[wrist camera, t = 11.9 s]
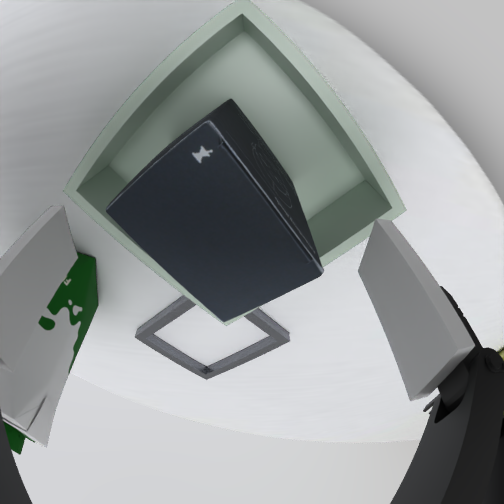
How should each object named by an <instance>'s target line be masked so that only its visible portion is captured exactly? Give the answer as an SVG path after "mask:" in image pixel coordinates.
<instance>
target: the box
mask: <svg viewBox="0 0 504 504" xmlns="http://www.w3.org/2000/svg"><path fill="white" fill-rule="evenodd" d="M106 213H107V214H108V215H109V216H110V217H111V218H112V219H113V220H114V221H115V222H116V223H117V224H118V225H119V226H120V227H121V228H122V229H123V230H124V231H125V232H126V233H127V234H128V235H129V236H130V237H131V238H132V239H133V240H134V241H135V242H136V243H137V244H138V245H139V246H140V247H141V248H142V249H143V250H144V251H145V252H146V253H147V254H148V255H149V256H150V257H151V258H152V259H154V260H155V261H156V262H157V263H158V264H159V265H160V266H161V267H162V268H163V269H164V270H165V271H166V272H167V273H168V274H169V275H170V276H172V277H173V278H174V279H175V280H176V281H177V282H178V283H179V284H180V285H181V286H183V287H184V288H185V289H186V290H187V291H188V292H189V293H190V294H191V295H192V296H193V297H195V298H196V299H197V300H198V301H199V302H200V303H202V304H203V305H204V306H205V307H206V308H207V309H208V310H210V311H211V312H212V313H213V314H214V315H215V316H216V317H217V318H219V319H220V320H221V321H222V322H226V321H229V320H231V319H233V318H235V317H238V316H240V315H242V314H244V313H246V312H248V311H251V310H253V309H255V308H257V307H259V306H261V305H263V304H265V303H268V302H270V301H271V300H274V299H276V298H278V297H280V296H282V295H284V294H286V293H288V292H290V291H292V290H294V289H296V288H298V287H300V286H302V285H304V284H306V283H308V282H310V281H312V280H314V279H316V278H318V277H320V276H321V275H322V274H323V272H324V269H323V267H322V264H321V261H320V258H319V255H318V252H317V249H316V246H315V243H314V240H313V238H312V235H311V231H310V229H309V226H308V223H307V220H306V218H305V215H304V212H303V210H302V206H301V204H300V201H299V198H298V195H297V193H296V190H295V187H294V184H293V182H292V180H291V179H290V177H289V176H288V174H287V173H286V171H285V170H284V168H283V167H282V165H281V164H280V162H279V161H278V159H277V158H276V156H275V155H274V154H273V152H272V151H271V150H270V148H269V147H268V145H267V144H266V143H265V141H264V140H263V138H262V137H261V136H260V134H259V133H258V131H257V130H256V129H255V127H254V126H253V125H252V124H251V122H250V121H249V120H248V118H247V117H246V116H245V114H244V113H243V112H242V110H241V109H240V108H239V107H238V105H237V104H236V103H235V101H234V100H233V99H229V100H227V101H226V102H224V103H223V104H222V105H220V106H219V107H217V108H216V109H214V110H213V111H212V112H210V113H209V114H208V115H206V116H205V117H204V118H202V119H201V120H199V121H198V122H197V123H195V124H194V125H193V126H192V127H190V128H189V129H188V130H186V131H185V132H184V133H183V134H181V135H180V136H179V137H178V138H176V139H175V140H174V141H173V142H171V143H170V144H169V145H168V146H167V147H165V148H164V149H163V150H162V151H161V152H160V153H159V154H158V155H157V156H155V158H153V159H152V160H151V161H150V162H149V163H148V164H147V165H146V166H145V167H144V168H143V169H142V170H141V171H140V172H139V173H138V174H137V175H136V176H135V177H134V178H133V179H132V180H131V181H130V182H129V183H128V184H127V185H126V186H125V187H124V188H123V189H122V191H121V192H120V193H119V194H118V195H117V196H116V197H115V198H114V199H113V200H112V201H111V202H110V203H109V205H108V206H107V207H106Z"/></svg>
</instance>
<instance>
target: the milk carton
mask: <svg viewBox="0 0 504 504" xmlns="http://www.w3.org/2000/svg"><path fill="white" fill-rule="evenodd" d="M77 256H78V259H77V260H76V261H75V263H74V264H73V266H72V267H71V269H70V270H69V272H68V273H67V275H66V276H65V278H64V280H63V281H62V283H61V284H60V286H59V287H58V289H57V291H56V292H55V294H54V296H53V297H52V299H51V301H50V302H49V304H48V306H47V307H46V309H45V311H44V313H43V314H42V316H41V318H40V320H39V322H38V323H37V325H36V327H35V329H34V331H33V333H32V335H31V337H30V339H29V340H28V342H27V344H26V346H25V349H24V351H23V353H22V355H21V357H20V359H19V361H18V363H17V366H16V368H15V370H14V372H13V373H12V372H10V371H8V370H6V369H3V368H1V367H0V409H1V414H2V418H3V422H4V426H5V430H6V434H7V438H8V441H9V445H10V448H11V450H13V451H15V452H16V453H18V454H21V451H22V448H23V444H24V440H25V438H28V439H29V440H31V441H33V442H37V443H39V444H40V445H42V446H44V447H47V444H48V439H49V434H50V430H51V426H52V422H53V418H54V415H55V411H56V407H57V405H58V402H59V399H60V396H61V394H62V391H63V388H64V385H65V383H66V380H67V378H68V375H69V373H70V370H71V368H72V365H73V363H74V361H75V358H76V356H77V353H78V351H79V349H80V347H81V344H82V342H83V340H84V337H85V335H86V333H87V331H88V329H89V326H90V324H91V321H92V319H93V316H94V314H95V312H96V309H97V307H98V297H97V283H96V259H95V258H93V257H90V256H87V255H84V254H81V253H78V252H77Z"/></svg>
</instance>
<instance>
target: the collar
mask: <svg viewBox="0 0 504 504" xmlns="http://www.w3.org/2000/svg"><path fill="white" fill-rule="evenodd" d="M195 305H196V304H195V303H194V302H192V301H191V300H190V299H188V298H187V297H186V296H185V295H184V296H182V297H181V298H179V299H178V300H177V301H175V302H174V303H173V304H171V305H170V306H168V307H167V308H166V309H164V310H163V311H162V312H160V313H159V314H158V315H156V316H155V317H153V318H152V319H151V320H149V321H148V322H147V323H145V324H144V325H143V326H141V327H140V328H138V329H137V331H136V334H135V338H137V339H138V340H140V341H141V342H143V343H144V344H146V345H148V346H149V347H151V348H152V349H154V350H155V351H157V352H159V353H160V354H162V355H164V356H165V357H167V358H169V359H170V360H172V361H174V362H175V363H177V364H179V365H181V366H182V367H184V368H186V369H188V370H190V371H191V372H193V373H195V374H197V375H199V376H200V377H202V378H204V379H206V380H207V379H209V378H212V377H214V376H216V375H219V374H221V373H223V372H226V371H228V370H230V369H233V368H235V367H237V366H239V365H241V364H244V363H246V362H248V361H250V360H252V359H255V358H257V357H259V356H261V355H263V354H265V353H267V352H269V351H271V350H273V349H275V348H277V347H279V346H281V345H283V344H285V343H287V342H289V341H290V337H289V332H287V331H286V330H285V329H283V328H282V327H281V326H280V325H278V324H277V323H276V322H275V321H273V320H272V319H271V318H270V317H268V316H267V315H266V314H265V313H263V312H262V311H261V310H260V309H258V308H256V309H255V310H253V311H251V312H250V313H248V314H246V315H245V316H244V317H245V318H247V319H248V320H249V321H251V322H252V323H253V324H255V325H256V326H257V327H259V328H260V329H261V330H263V331H264V332H266V333H267V334H268V335H270V336H269V337H267V338H265V339H263V340H261V341H259V342H257V343H255V344H254V345H252V346H250V347H248V348H246V349H244V350H241V351H239V352H237V353H235V354H233V355H231V356H229V357H227V358H225V359H223V360H221V361H219V362H216V363H214V364H212V365H210V366H208V367H206V366H204V365H202V364H200V363H199V362H197V361H195V360H194V359H192V358H190V357H189V356H187V355H185V354H184V353H182V352H180V351H179V350H177V349H175V348H174V347H172V346H171V345H169V344H167V343H166V342H164V341H163V340H161V339H160V338H158V337H157V336H155V335H154V334H153V333H155V332H156V331H158V330H159V329H161V328H162V327H164V326H165V325H167V324H168V323H170V322H171V321H173V320H174V319H176V318H177V317H179V316H180V315H182V314H183V313H185V312H186V311H188V310H189V309H191V308H192V307H194V306H195Z"/></svg>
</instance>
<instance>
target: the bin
mask: <svg viewBox="0 0 504 504" xmlns="http://www.w3.org/2000/svg"><path fill="white" fill-rule="evenodd" d="M229 99H233V100H234V101H235V103H236V104H237V105H238V107H239V108H240V109H241V110H242V112H243V113H244V114H245V116H246V117H247V118H248V120H249V121H250V122H251V124H252V125H253V126H254V127H255V129H256V130H257V131H258V133H259V134H260V136H261V137H262V138H263V140H264V141H265V143H266V144H267V145H268V147H269V148H270V150H271V151H272V152H273V154H274V155H275V156H276V158H277V159H278V161H279V162H280V164H281V165H282V167H283V168H284V170H285V171H286V173H287V174H288V176H289V177H290V179H291V180H292V182H293V184H294V187H295V190H296V193H297V195H298V198H299V201H300V204H301V206H302V210H303V212H304V215H305V218H306V220H307V223H308V226H309V229H310V231H311V235H312V238H313V240H314V243H315V246H316V249H317V252H318V255H319V258H320V261H321V264H322V267H324V266H326V265H327V264H329V263H330V262H332V261H333V260H335V259H337V258H338V257H340V256H341V255H343V254H344V253H346V252H347V251H349V250H350V249H352V248H353V247H355V246H356V245H358V244H359V243H361V242H362V241H363V240H365V239H366V238H368V237H369V236H370V234H371V231H372V228H373V225H374V222H375V219H384V220H391V221H392V220H394V219H395V218H397V217H398V216H399V215H401V214H402V213H404V212H405V211H406V208H405V206H404V204H403V202H402V200H401V198H400V196H399V194H398V192H397V190H396V188H395V186H394V184H393V183H392V181H391V179H390V177H389V175H388V174H387V172H386V170H385V168H384V167H383V165H382V163H381V161H380V160H379V158H378V156H377V155H376V153H375V151H374V150H373V148H372V146H371V145H370V143H369V142H368V140H367V138H366V137H365V135H364V134H363V132H362V131H361V129H360V128H359V126H358V125H357V123H356V122H355V120H354V119H353V117H352V116H351V114H350V113H349V112H348V110H347V109H346V107H345V106H344V105H343V103H342V102H341V100H340V99H339V98H338V96H337V95H336V94H335V92H334V91H333V90H332V88H331V87H330V86H329V85H328V83H327V82H326V81H325V79H324V78H323V77H322V76H321V74H320V73H319V72H318V71H317V70H316V68H315V67H314V66H313V65H312V64H311V62H310V61H309V60H308V59H307V58H306V57H305V55H304V54H303V53H302V52H301V51H300V50H299V49H298V48H297V46H296V45H295V44H294V43H293V42H292V41H291V40H290V39H289V38H288V37H287V36H286V35H285V34H284V33H283V32H282V31H281V29H280V28H279V27H278V26H277V25H276V24H275V23H274V22H273V21H272V20H270V19H269V18H268V17H267V16H266V15H265V14H264V13H263V12H262V11H261V10H260V9H259V8H258V7H257V6H256V5H255V4H253V3H252V2H251V1H250V0H236V1H235V2H233V3H232V4H230V5H229V6H227V7H226V8H225V9H223V10H222V11H221V12H219V13H218V14H217V15H215V16H214V17H213V18H211V19H210V20H209V21H208V22H206V23H205V24H204V25H203V26H201V27H200V28H199V29H198V30H197V31H195V32H194V33H193V34H192V35H191V36H190V37H188V38H187V39H186V40H185V41H184V42H183V43H182V44H181V45H179V46H178V47H177V48H176V49H175V50H174V51H173V52H172V53H171V54H170V55H169V56H168V57H167V58H166V59H165V60H164V61H163V62H162V63H161V64H160V65H159V66H158V67H157V68H156V69H155V70H154V71H153V72H152V73H151V74H150V75H149V76H148V77H147V78H146V79H145V80H144V81H143V82H142V83H141V84H140V86H139V87H138V88H137V89H136V90H135V91H134V92H133V93H132V95H131V96H130V97H129V98H128V99H127V100H126V102H125V103H124V104H123V105H122V106H121V108H120V109H119V110H118V111H117V113H116V114H115V115H114V116H113V118H112V119H111V120H110V121H109V123H108V124H107V125H106V127H105V128H104V129H103V131H102V132H101V133H100V135H99V136H98V138H97V139H96V140H95V142H94V143H93V145H92V146H91V147H90V149H89V150H88V152H87V153H86V155H85V156H84V158H83V159H82V161H81V162H80V164H79V165H78V167H77V169H76V170H75V172H74V173H73V175H72V177H71V178H70V180H69V182H68V183H67V185H66V187H65V188H64V190H63V192H64V193H65V194H66V195H67V196H68V197H69V198H71V199H72V200H73V201H74V202H75V203H76V204H77V205H78V206H79V207H80V208H81V209H82V210H83V211H84V212H85V213H86V214H88V215H89V216H90V217H91V218H92V219H93V220H94V221H95V222H96V223H97V224H99V225H100V226H101V227H102V228H103V229H104V230H105V231H106V232H108V233H109V234H110V235H111V236H112V237H113V238H114V239H116V240H117V241H118V242H119V243H120V244H121V245H122V246H124V247H125V248H126V249H127V250H128V251H130V252H131V253H132V254H133V255H134V256H136V257H137V258H138V259H139V260H140V261H142V262H143V263H144V264H145V265H146V266H148V267H149V268H150V269H151V270H153V271H154V272H155V273H156V274H158V275H159V276H160V277H161V278H163V279H164V280H165V281H166V282H168V283H169V284H170V285H172V286H173V287H174V288H175V289H177V290H178V291H179V292H181V293H182V294H183V295H185V296H186V297H187V298H188V299H190V300H191V301H192V302H194V303H195V304H196V305H198V306H199V307H201V308H202V309H203V310H205V311H206V312H207V313H209V314H210V315H211V316H213V317H214V318H216V319H217V320H218V321H220V322H221V323H223V324H224V325H225V326H227V325H229V324H231V323H233V322H234V321H236V320H238V319H239V318H241V317H243V316H245V315H246V314H248V313H250V312H251V311H253V310H255V309H256V308H255V309H253V310H251V311H248V312H246V313H244V314H242V315H240V316H238V317H235V318H233V319H231V320H229V321H226V322H222V321H221V320H220V319H219V318H217V317H216V316H215V315H214V314H213V313H212V312H211V311H210V310H208V309H207V308H206V307H205V306H204V305H203V304H202V303H200V302H199V301H198V300H197V299H196V298H195V297H193V296H192V295H191V294H190V293H189V292H188V291H187V290H186V289H185V288H184V287H183V286H181V285H180V284H179V283H178V282H177V281H176V280H175V279H174V278H173V277H172V276H170V275H169V274H168V273H167V272H166V271H165V270H164V269H163V268H162V267H161V266H160V265H159V264H158V263H157V262H156V261H155V260H154V259H152V258H151V257H150V256H149V255H148V254H147V253H146V252H145V251H144V250H143V249H142V248H141V247H140V246H139V245H138V244H137V243H136V242H135V241H134V240H133V239H132V238H131V237H130V236H129V235H128V234H127V233H126V232H125V231H124V230H123V229H122V228H121V227H120V226H119V225H118V224H117V223H116V222H115V221H114V220H113V219H112V218H111V217H110V216H109V215H108V214H107V213H106V207H107V206H108V205H109V203H110V202H111V201H112V200H113V199H114V198H115V197H116V196H117V195H118V194H119V193H120V192H121V191H122V189H123V188H124V187H125V186H126V185H127V184H128V183H129V182H130V181H131V180H132V179H133V178H134V177H135V176H136V175H137V174H138V173H139V172H140V171H141V170H142V169H143V168H144V167H145V166H146V165H147V164H148V163H149V162H150V161H151V160H152V159H153V158H155V156H157V155H158V154H159V153H160V152H161V151H162V150H163V149H164V148H165V147H167V146H168V145H169V144H170V143H171V142H173V141H174V140H175V139H176V138H178V137H179V136H180V135H181V134H183V133H184V132H185V131H186V130H188V129H189V128H190V127H192V126H193V125H194V124H195V123H197V122H198V121H199V120H201V119H202V118H204V117H205V116H206V115H208V114H209V113H210V112H212V111H213V110H214V109H216V108H217V107H219V106H220V105H222V104H223V103H224V102H226V101H227V100H229ZM261 306H262V305H261ZM259 307H260V306H259ZM257 308H258V307H257Z"/></svg>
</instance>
